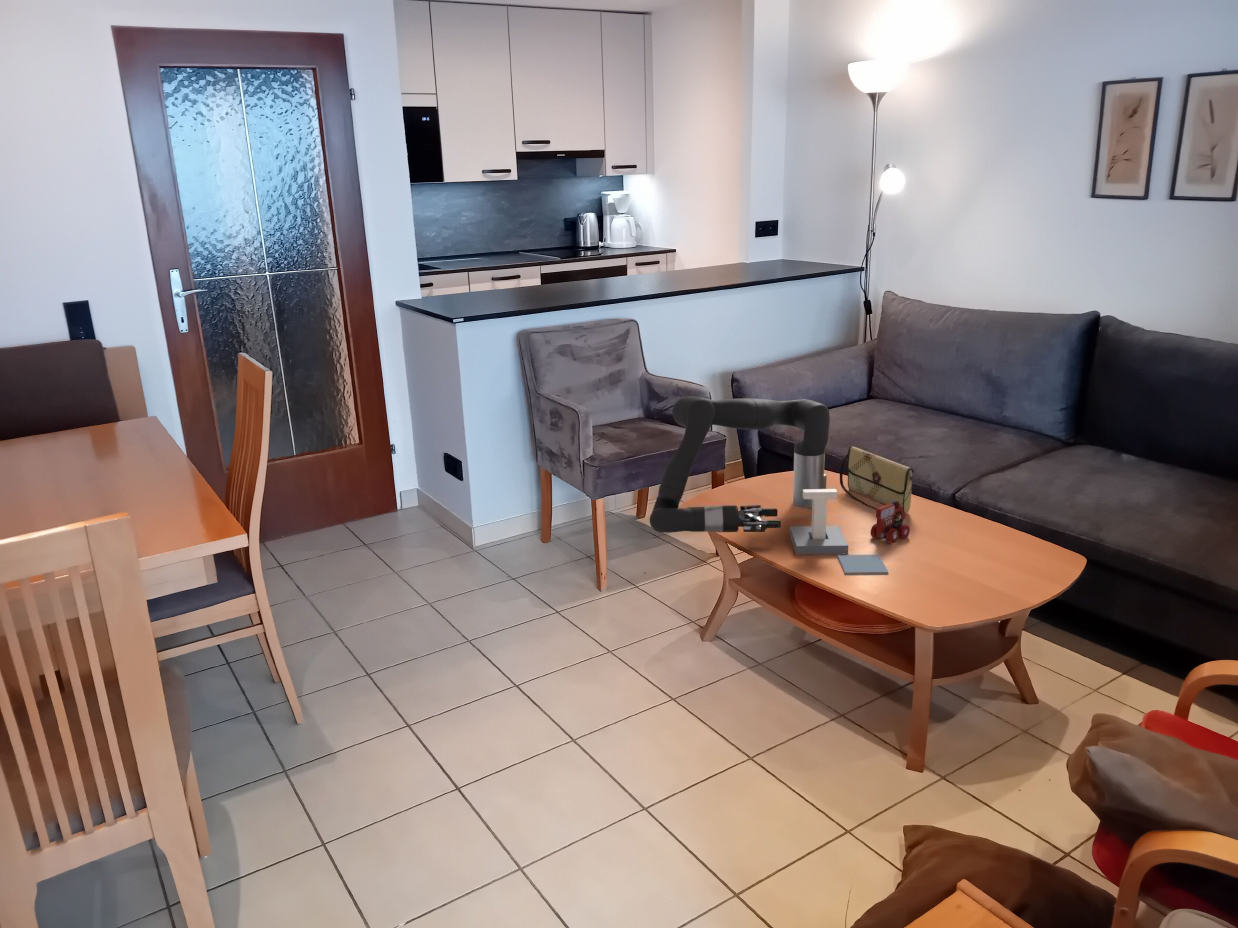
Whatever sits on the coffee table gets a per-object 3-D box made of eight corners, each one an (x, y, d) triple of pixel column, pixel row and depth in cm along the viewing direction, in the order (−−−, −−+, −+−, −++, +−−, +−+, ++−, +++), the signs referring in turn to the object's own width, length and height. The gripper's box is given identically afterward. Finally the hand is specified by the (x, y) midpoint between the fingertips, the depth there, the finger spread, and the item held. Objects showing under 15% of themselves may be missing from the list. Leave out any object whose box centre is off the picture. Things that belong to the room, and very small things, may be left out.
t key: (802, 546, 246) (804, 493, 241) (801, 541, 249) (802, 488, 244) (835, 546, 245) (837, 492, 240) (833, 541, 249) (835, 488, 244)
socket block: (796, 554, 241) (796, 546, 240) (789, 534, 254) (790, 526, 254) (848, 553, 240) (848, 545, 239) (838, 533, 253) (839, 525, 253)
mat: (845, 574, 228) (845, 572, 228) (837, 556, 239) (837, 554, 239) (888, 573, 228) (888, 571, 227) (878, 556, 238) (878, 554, 238)
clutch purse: (833, 491, 287) (835, 447, 282) (850, 487, 290) (852, 444, 285) (898, 520, 261) (901, 473, 256) (915, 516, 264) (919, 468, 259)
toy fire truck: (913, 535, 251) (916, 501, 247) (886, 547, 244) (889, 512, 240) (892, 528, 256) (895, 494, 253) (866, 539, 249) (868, 505, 245)
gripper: (722, 515, 239) (782, 515, 238) (719, 497, 252) (776, 496, 251) (722, 541, 241) (782, 540, 240) (719, 521, 254) (776, 520, 253)
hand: (779, 518), depth 245 cm, fingers open, 8 cm apart
